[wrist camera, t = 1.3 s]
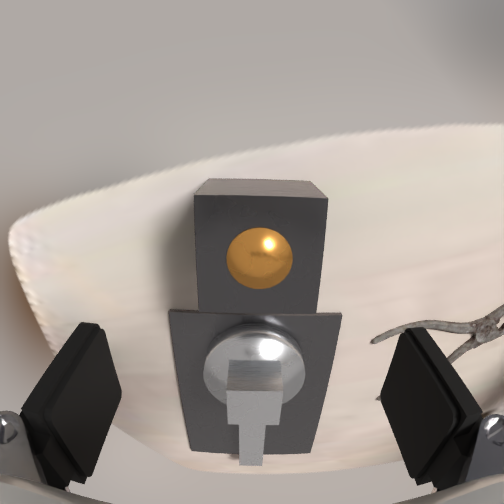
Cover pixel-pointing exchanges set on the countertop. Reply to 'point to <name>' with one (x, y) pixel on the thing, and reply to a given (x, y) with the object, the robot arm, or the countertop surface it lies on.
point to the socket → (259, 245)
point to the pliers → (458, 331)
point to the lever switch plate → (253, 379)
